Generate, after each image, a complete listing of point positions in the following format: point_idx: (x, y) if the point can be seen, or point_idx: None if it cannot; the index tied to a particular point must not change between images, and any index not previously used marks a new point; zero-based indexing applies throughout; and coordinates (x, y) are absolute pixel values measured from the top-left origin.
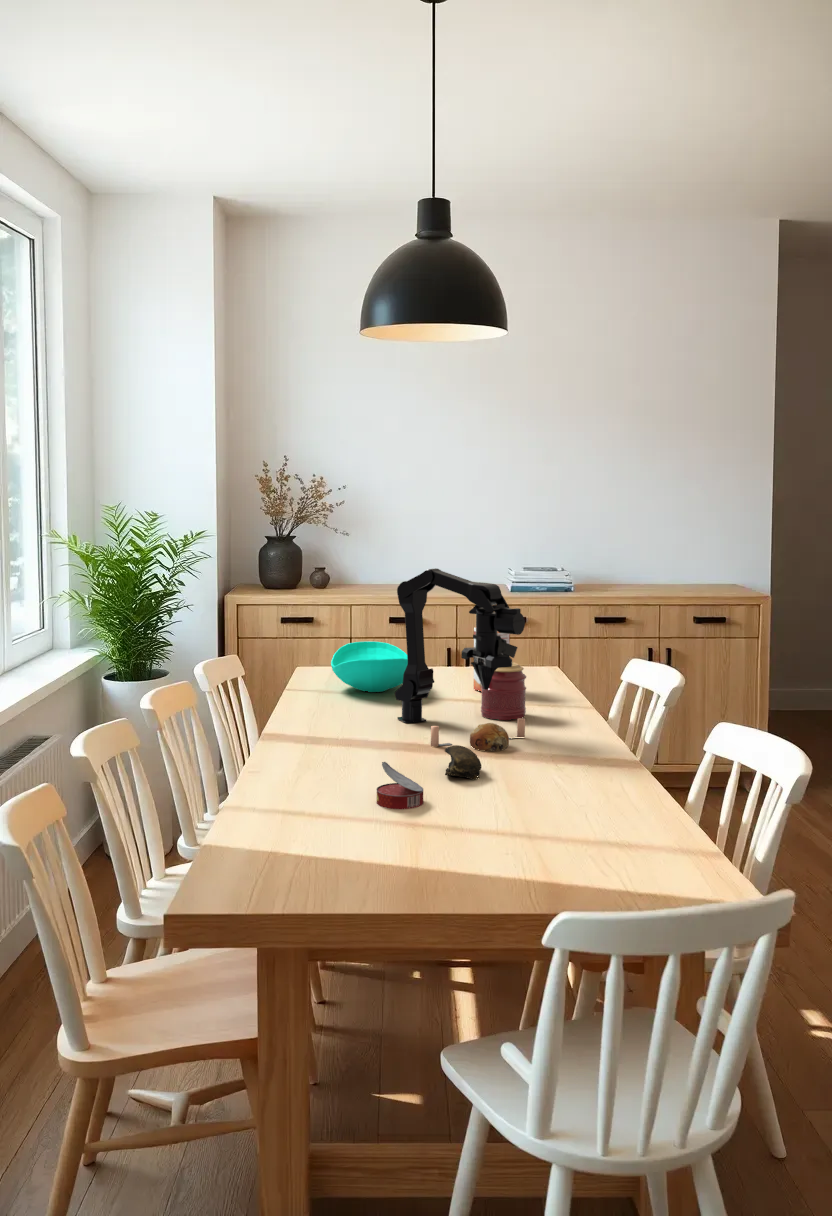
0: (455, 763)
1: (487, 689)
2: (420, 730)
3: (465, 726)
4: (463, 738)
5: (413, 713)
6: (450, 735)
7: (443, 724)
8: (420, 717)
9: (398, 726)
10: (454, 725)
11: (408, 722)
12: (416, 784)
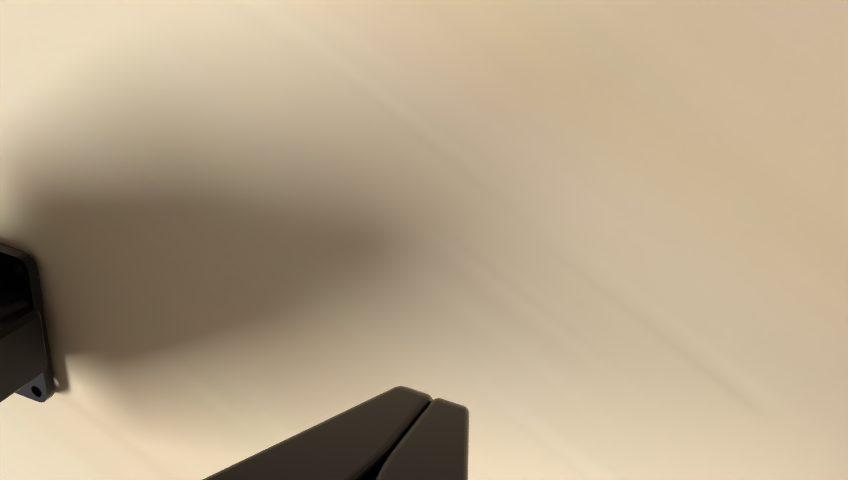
0: None
1: (467, 417)
2: None
3: (257, 97)
4: (657, 428)
5: (2, 399)
6: (496, 425)
7: (135, 205)
8: (24, 330)
9: (110, 472)
10: (192, 154)
11: (51, 385)
12: None
